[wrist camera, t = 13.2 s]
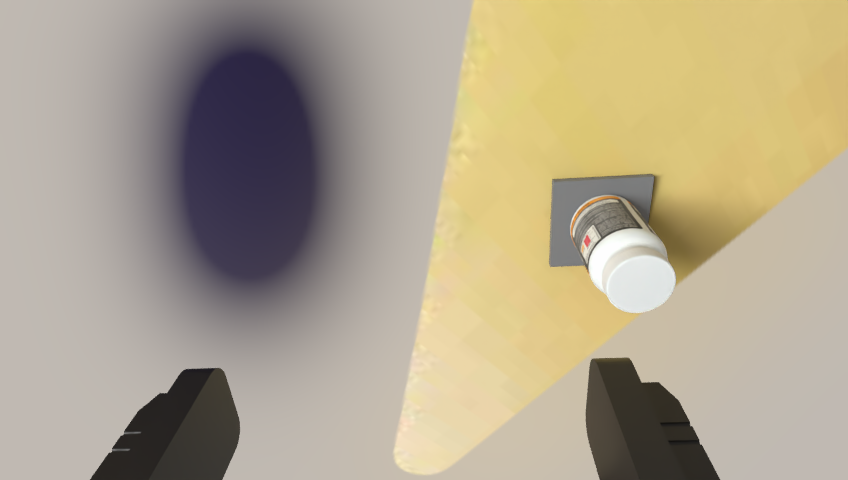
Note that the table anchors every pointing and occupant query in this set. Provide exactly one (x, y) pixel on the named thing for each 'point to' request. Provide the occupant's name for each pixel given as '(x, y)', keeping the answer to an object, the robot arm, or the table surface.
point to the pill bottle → (622, 254)
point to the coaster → (580, 190)
